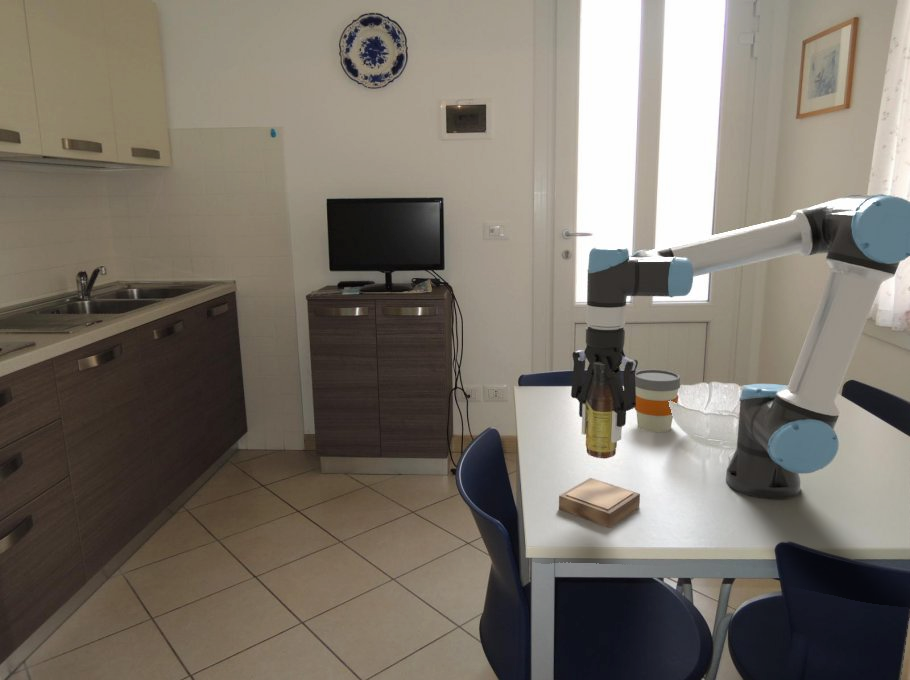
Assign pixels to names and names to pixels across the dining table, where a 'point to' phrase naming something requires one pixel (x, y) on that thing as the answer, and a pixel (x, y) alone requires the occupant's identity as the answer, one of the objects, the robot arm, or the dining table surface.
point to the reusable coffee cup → (655, 399)
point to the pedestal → (599, 502)
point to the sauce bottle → (600, 415)
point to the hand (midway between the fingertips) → (601, 436)
